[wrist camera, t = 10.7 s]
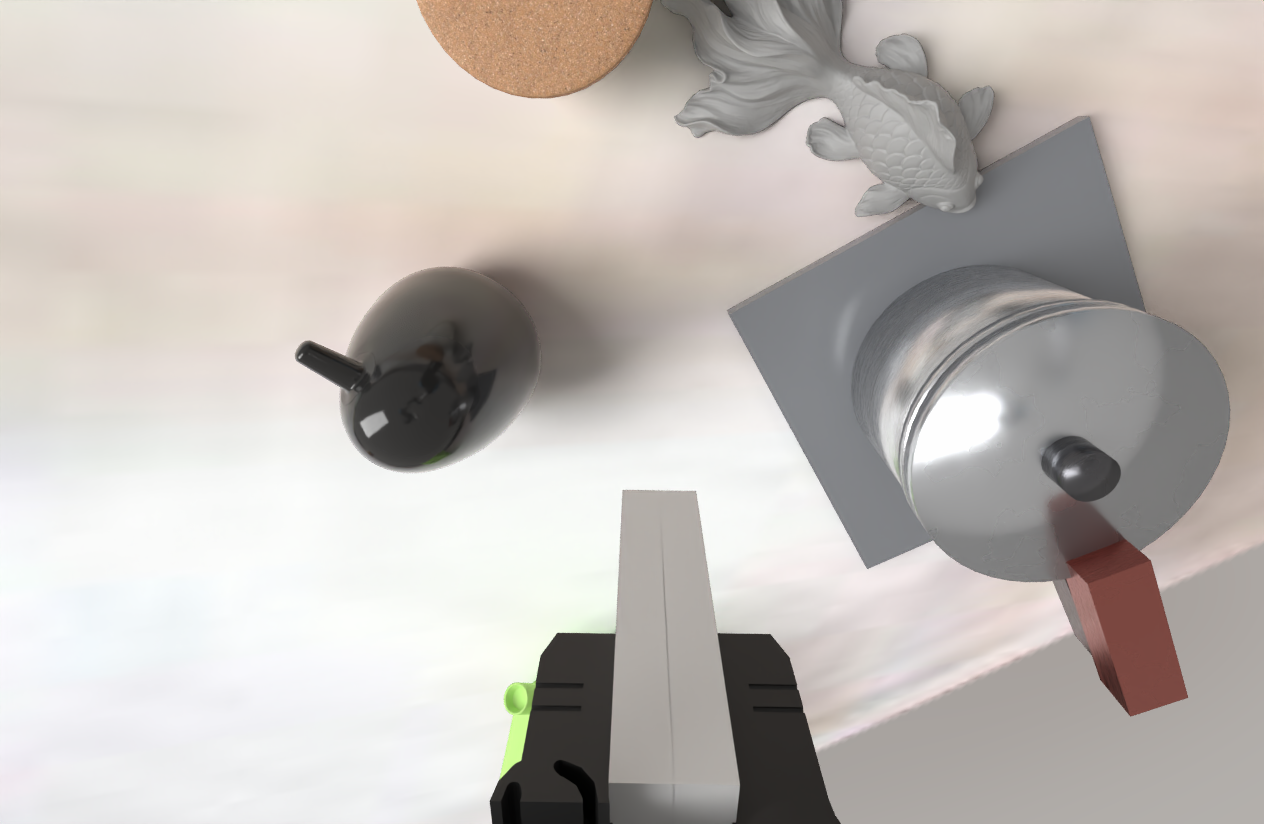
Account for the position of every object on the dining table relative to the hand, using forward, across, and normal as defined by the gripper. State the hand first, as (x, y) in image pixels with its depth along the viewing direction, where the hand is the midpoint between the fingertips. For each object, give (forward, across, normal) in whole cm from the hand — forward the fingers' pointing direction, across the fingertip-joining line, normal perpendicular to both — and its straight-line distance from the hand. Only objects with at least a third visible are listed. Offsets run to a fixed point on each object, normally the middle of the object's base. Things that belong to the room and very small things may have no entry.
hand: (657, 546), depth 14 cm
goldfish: (+30, +10, +11) cm, 33 cm away
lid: (+18, +22, -10) cm, 31 cm away
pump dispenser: (+30, -11, -4) cm, 32 cm away
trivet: (+29, +20, -6) cm, 36 cm away
